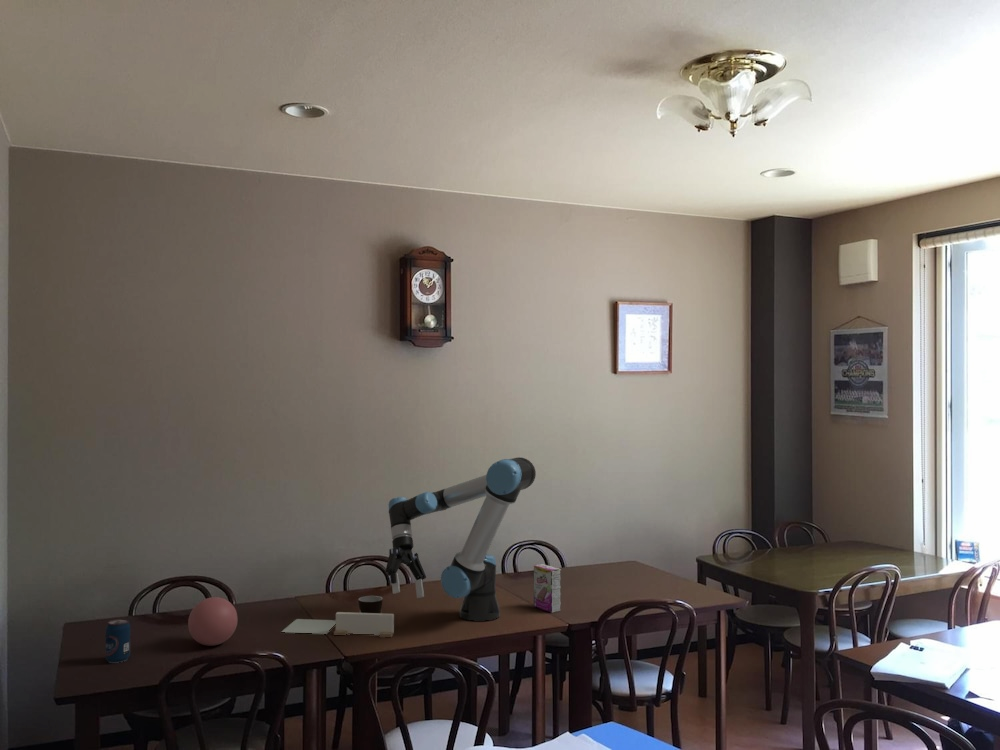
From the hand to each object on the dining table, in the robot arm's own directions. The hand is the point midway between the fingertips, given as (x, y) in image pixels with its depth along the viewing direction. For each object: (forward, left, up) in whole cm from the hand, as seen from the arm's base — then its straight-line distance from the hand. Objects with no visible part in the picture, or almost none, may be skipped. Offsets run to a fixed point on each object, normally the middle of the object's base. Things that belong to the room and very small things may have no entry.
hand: (408, 595), depth 290 cm
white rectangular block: (+13, +11, -11) cm, 20 cm away
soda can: (+82, +46, -11) cm, 95 cm away
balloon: (+61, +26, -11) cm, 67 cm away
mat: (+34, +5, -11) cm, 36 cm away
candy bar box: (-49, -29, -11) cm, 57 cm away
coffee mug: (+13, +1, -11) cm, 17 cm away
